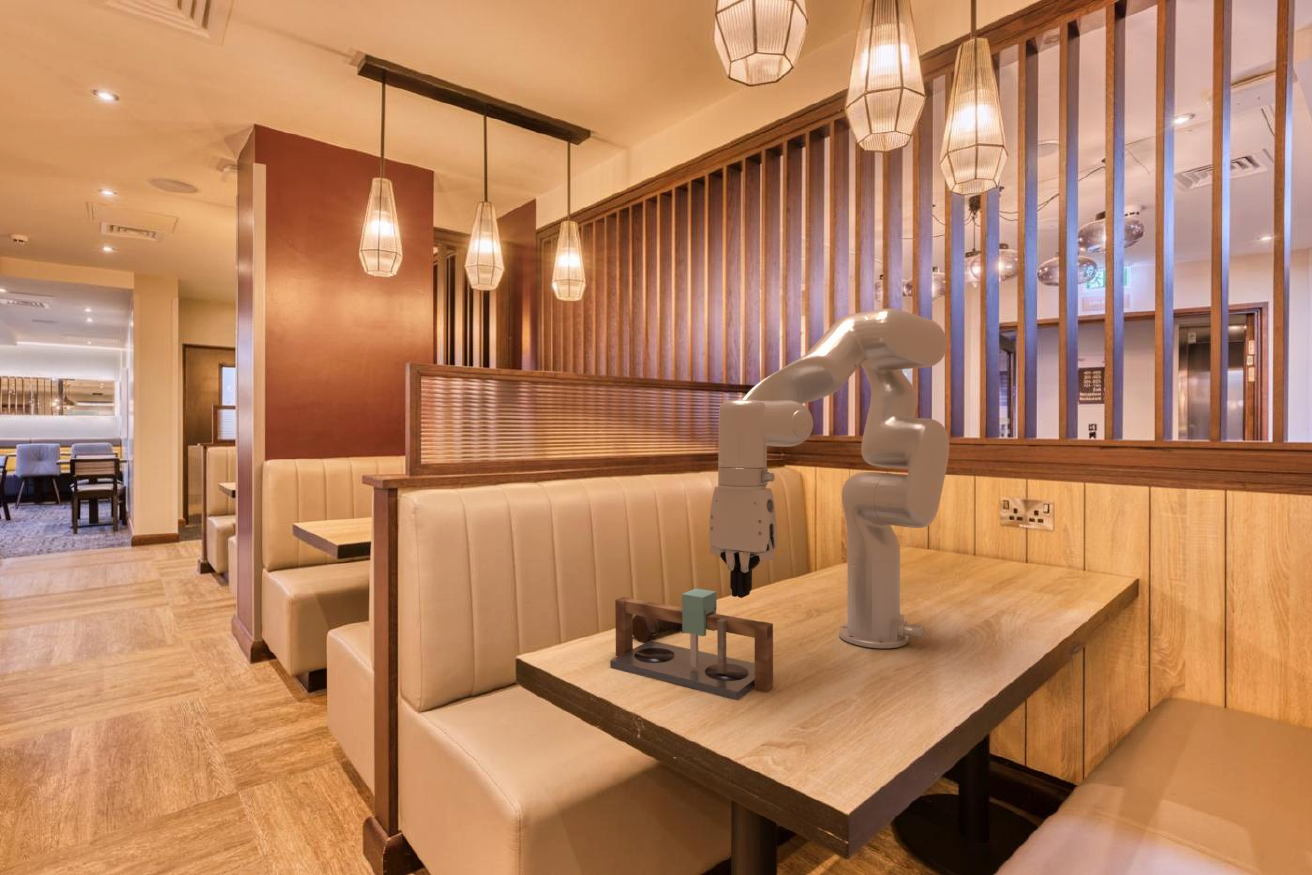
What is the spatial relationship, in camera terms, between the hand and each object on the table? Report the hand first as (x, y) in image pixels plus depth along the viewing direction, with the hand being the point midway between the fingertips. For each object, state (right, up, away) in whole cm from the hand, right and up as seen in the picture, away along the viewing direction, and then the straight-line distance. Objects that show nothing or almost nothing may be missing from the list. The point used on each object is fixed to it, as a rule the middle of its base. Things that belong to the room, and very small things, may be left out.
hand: (740, 595), depth 103 cm
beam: (-8, -14, +6) cm, 17 cm away
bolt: (-11, -14, +26) cm, 31 cm away
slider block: (-6, -12, +5) cm, 15 cm away
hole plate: (-8, -14, +6) cm, 17 cm away
